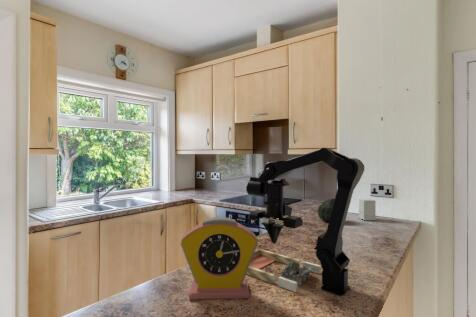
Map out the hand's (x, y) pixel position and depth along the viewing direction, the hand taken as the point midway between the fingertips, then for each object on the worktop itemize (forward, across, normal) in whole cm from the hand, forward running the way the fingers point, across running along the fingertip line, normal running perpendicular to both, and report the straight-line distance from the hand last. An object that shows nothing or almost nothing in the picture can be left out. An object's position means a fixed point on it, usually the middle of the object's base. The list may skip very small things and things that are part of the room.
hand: (274, 243), depth 96 cm
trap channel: (+10, +4, 0) cm, 10 cm away
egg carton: (+10, -8, 0) cm, 13 cm away
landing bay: (+9, -10, 0) cm, 14 cm away
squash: (+10, +14, -83) cm, 85 cm away
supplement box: (+10, -1, -102) cm, 102 cm away
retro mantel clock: (+10, +4, +23) cm, 25 cm away
